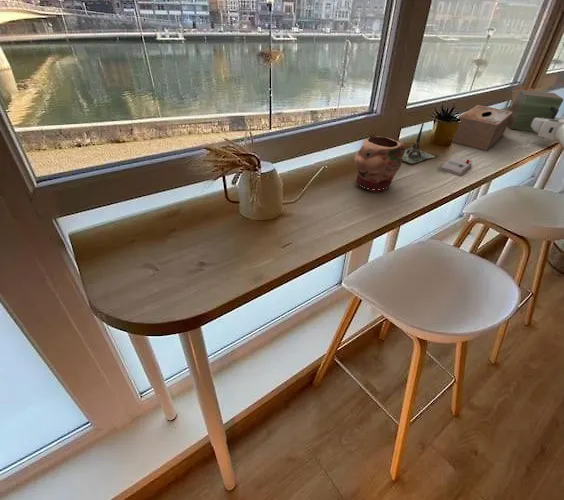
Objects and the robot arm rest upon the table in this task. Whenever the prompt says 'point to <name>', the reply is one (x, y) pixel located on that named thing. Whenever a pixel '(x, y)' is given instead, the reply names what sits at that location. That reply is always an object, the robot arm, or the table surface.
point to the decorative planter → (378, 162)
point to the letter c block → (535, 111)
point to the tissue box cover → (482, 126)
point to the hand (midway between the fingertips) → (554, 120)
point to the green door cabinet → (520, 99)
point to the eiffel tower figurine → (416, 152)
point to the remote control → (456, 166)
